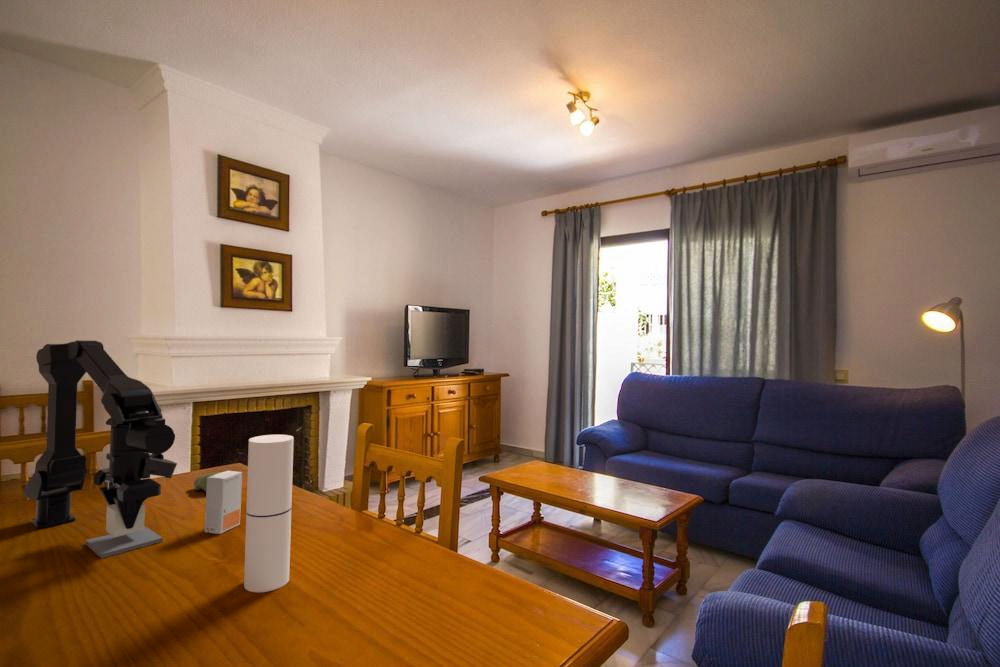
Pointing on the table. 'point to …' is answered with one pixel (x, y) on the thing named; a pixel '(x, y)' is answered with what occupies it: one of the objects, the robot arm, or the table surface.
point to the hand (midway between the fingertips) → (125, 524)
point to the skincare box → (223, 501)
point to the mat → (122, 542)
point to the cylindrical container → (268, 512)
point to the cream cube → (116, 523)
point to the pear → (202, 482)
